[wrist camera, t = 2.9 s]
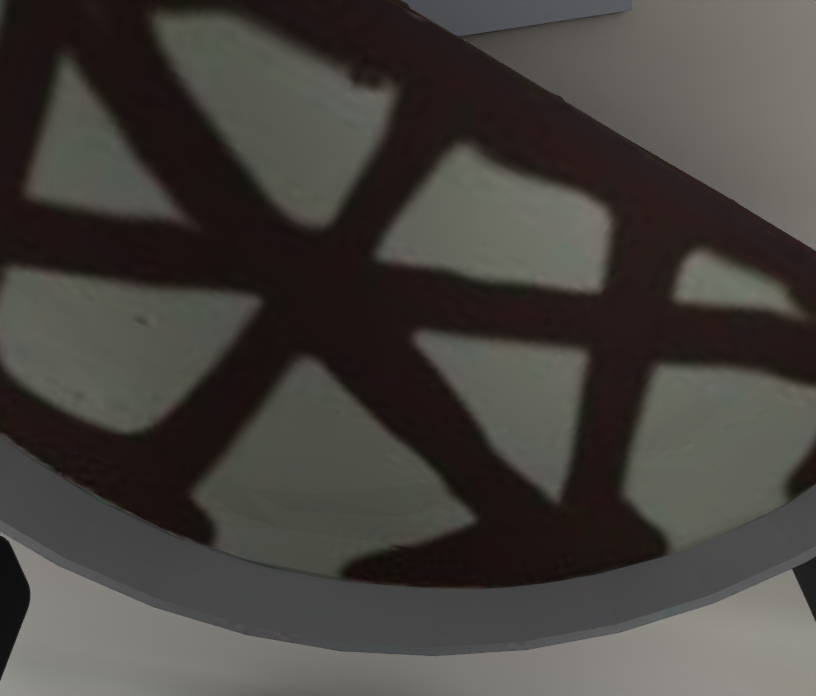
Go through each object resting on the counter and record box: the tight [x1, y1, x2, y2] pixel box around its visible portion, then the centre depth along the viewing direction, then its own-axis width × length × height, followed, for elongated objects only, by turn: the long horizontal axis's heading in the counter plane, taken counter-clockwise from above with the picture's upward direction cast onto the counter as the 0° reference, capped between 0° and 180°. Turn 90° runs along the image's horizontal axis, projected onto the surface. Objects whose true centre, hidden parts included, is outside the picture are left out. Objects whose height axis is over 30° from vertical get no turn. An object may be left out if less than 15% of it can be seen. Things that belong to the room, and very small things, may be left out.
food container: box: [0, 0, 816, 656], centre depth 10 cm, size 12×6×10 cm, turn 62°
